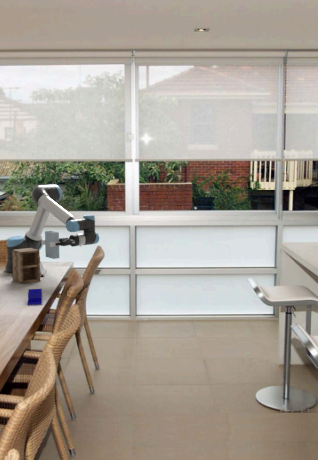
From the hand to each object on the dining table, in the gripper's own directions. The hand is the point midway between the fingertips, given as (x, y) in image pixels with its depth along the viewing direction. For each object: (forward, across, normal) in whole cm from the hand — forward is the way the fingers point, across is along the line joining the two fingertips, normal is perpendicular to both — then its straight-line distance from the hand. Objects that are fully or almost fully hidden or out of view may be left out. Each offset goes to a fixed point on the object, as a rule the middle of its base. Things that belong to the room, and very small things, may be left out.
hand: (45, 243), depth 368 cm
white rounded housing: (-10, +27, -25) cm, 39 cm away
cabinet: (+6, +15, -25) cm, 30 cm away
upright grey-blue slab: (-4, 0, -9) cm, 10 cm away
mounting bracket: (+26, -34, -26) cm, 50 cm away
